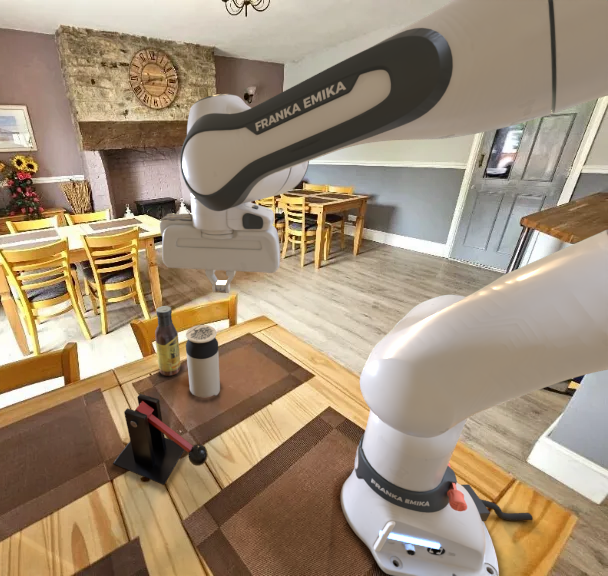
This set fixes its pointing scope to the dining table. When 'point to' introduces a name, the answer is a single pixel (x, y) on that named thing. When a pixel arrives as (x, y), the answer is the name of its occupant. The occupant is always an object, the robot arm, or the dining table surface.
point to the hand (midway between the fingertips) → (221, 291)
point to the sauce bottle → (167, 343)
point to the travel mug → (203, 361)
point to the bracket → (148, 445)
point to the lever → (175, 437)
